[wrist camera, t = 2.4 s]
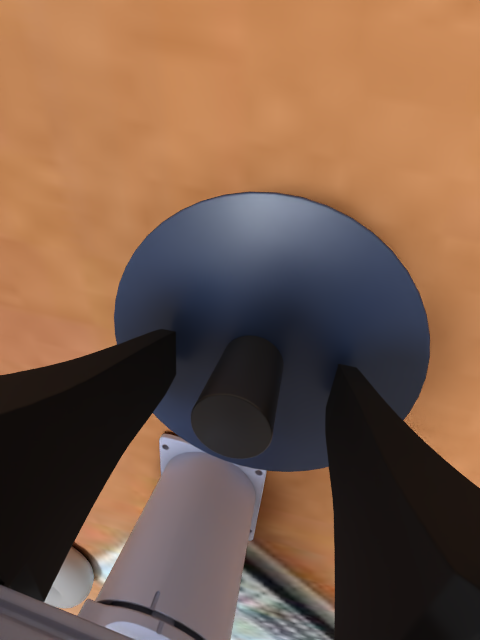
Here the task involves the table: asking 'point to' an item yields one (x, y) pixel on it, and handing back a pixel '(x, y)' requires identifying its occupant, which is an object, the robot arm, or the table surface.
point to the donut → (71, 581)
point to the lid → (271, 323)
